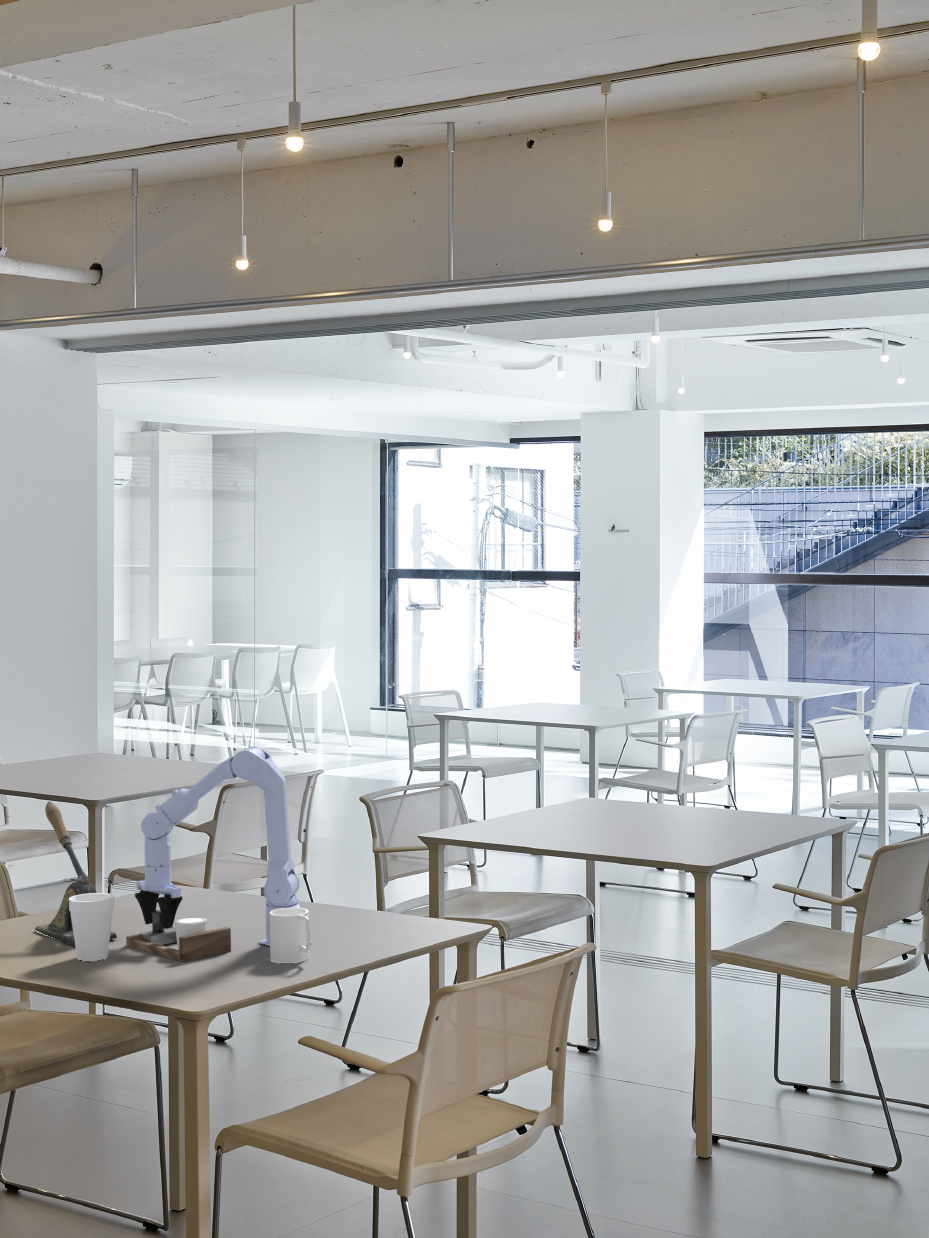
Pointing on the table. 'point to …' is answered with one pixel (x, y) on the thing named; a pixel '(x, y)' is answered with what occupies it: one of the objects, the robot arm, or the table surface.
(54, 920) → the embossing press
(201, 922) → the white tapered cylinder
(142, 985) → the table surface
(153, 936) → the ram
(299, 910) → the cup
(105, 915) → the foam cup
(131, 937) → the wooden tray
